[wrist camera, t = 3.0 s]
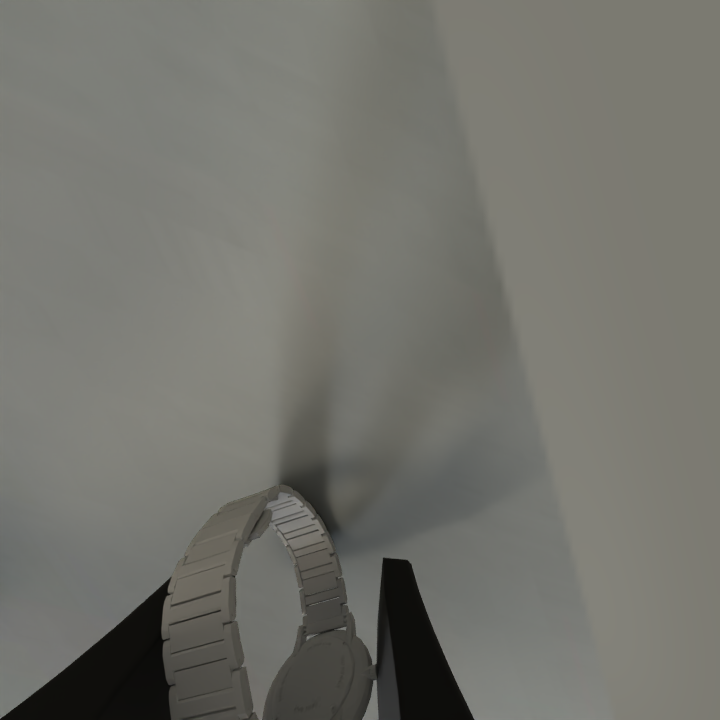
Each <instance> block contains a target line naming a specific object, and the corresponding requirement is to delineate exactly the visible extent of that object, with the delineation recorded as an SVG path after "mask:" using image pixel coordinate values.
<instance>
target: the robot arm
mask: <svg viewBox="0 0 720 720" xmlns="http://www.w3.org/2000/svg"><path fill="white" fill-rule="evenodd" d="M232 577H234V578H235V576H232ZM171 578H172V577H171ZM171 578H170V579H168V580H167V581H166V582H165V583H164V584H163V585H162V586H161V587H160V588H159V589H158V590H156V591H155V592H154V593H153V594H152V595H151V596H150V597H149V598H148V599H146V600H145V601H144V602H143V603H142V604H141V605H140V606H139V607H137V608H136V609H135V610H134V611H133V612H132V613H131V614H130V615H128V616H127V617H126V618H125V619H124V620H123V621H122V622H121V623H119V624H118V625H117V626H116V627H115V628H114V629H112V630H111V631H110V632H109V633H108V634H106V635H105V636H104V637H103V638H102V639H100V640H99V641H98V642H97V643H96V644H94V645H93V646H92V647H91V648H90V649H89V650H87V651H86V652H85V653H84V654H83V655H81V656H80V657H79V658H78V659H77V660H75V661H74V662H73V663H72V664H71V665H69V666H68V667H67V668H66V669H64V670H63V671H62V672H61V673H59V674H58V675H57V676H56V677H54V678H53V679H52V680H51V681H49V682H48V683H47V684H45V685H44V686H43V687H42V688H40V689H39V690H38V691H36V692H35V693H34V694H33V695H31V696H30V697H29V698H27V699H26V700H25V701H23V702H22V703H21V704H19V705H18V706H17V707H16V708H14V709H13V710H12V711H10V712H9V713H8V714H6V715H5V716H4V717H2V718H1V719H0V720H171V714H170V705H169V690H170V687H171V686H173V685H175V684H173V685H169V684H168V682H167V680H166V675H165V668H164V661H163V644H164V642H165V641H166V640H168V639H170V638H168V639H165V640H163V639H162V633H161V628H162V616H163V606H164V602H165V599H166V597H167V596H169V595H171V594H169V593H168V587H169V584H170V581H171ZM230 622H231V621H230ZM377 666H378V679H377V695H378V716H379V720H474V718H473V716H472V714H471V712H470V710H469V708H468V706H467V703H466V701H465V699H464V697H463V695H462V693H461V691H460V689H459V687H458V685H457V682H456V680H455V678H454V676H453V674H452V671H451V669H450V667H449V665H448V663H447V660H446V658H445V656H444V653H443V651H442V648H441V646H440V644H439V641H438V639H437V637H436V634H435V632H434V630H433V627H432V625H431V622H430V620H429V617H428V614H427V612H426V609H425V606H424V603H423V601H422V598H421V595H420V592H419V589H418V586H417V583H416V580H415V576H414V573H413V569H412V565H411V563H410V562H409V561H408V560H401V559H390V558H383V564H382V576H381V588H380V599H379V611H378V628H377Z"/></svg>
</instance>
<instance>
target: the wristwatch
mask: <svg viewBox="0 0 720 720" xmlns="http://www.w3.org/2000/svg"><path fill="white" fill-rule="evenodd" d="M268 526H270V527H271V528H272V529H273V530H276V533H277V534H278V536H279V537H280V539H281V540H282V542H283V543H284V545H287V546H286V548H287V551H288V553H289V555H290V558H291V560H292V562H293V564H297V565H295V567H294V569H295V573H296V577H297V581H298V586H299V588H302V587H303V588H304V589H301V590H300V591H299V592H300V600H301V608H302V614H303V615H305V614H307V616H304V617H303V625H301V626H299V628H298V634H297V640H296V644H295V647H294V651H293V654H292V655H291V656H290V657H289V658H288V659H287V660H286V662H285V663H284V665H283V666H282V667H281V669H280V670H279V672H278V674H277V675H276V677H275V679H274V681H273V683H272V685H271V687H270V690H269V692H268V695H267V698H266V702H265V705H264V711H263V719H262V720H362V718H363V716H364V714H365V712H366V709H367V706H368V703H369V700H370V697H371V692H372V686H373V680H377V679H378V666H377V664H375V665H372V659H371V656H370V654H369V651H368V649H367V648H366V646H365V645H364V643H363V642H362V640H361V639H360V638H358V637H357V636H356V628H355V619H354V617H353V615H352V613H351V612H350V613H349V609H348V606H347V605H343V604H347V595H346V589H345V584H344V579H343V578H339V579H338V577H340V576H342V570H341V566H340V562H339V559H338V555H337V553H334V552H335V551H336V549H335V546H334V543H333V541H332V539H331V536H330V534H329V532H328V531H326V530H327V529H326V527H325V524H324V523H323V521H322V519H321V518H320V516H319V515H318V514H316V511H315V509H314V508H313V507H312V506H311V504H310V503H309V502H308V501H305V499H304V498H303V497H302V496H301V495H300V494H299V493H298V492H297V491H295V490H293V491H292V488H291V487H289V486H286V485H279V486H275V487H272V488H270V489H268V490H265V491H262V492H259V493H256V494H253V495H250V496H247V497H245V498H242V499H239V500H236V501H232V502H229V503H227V504H226V505H224V506H223V507H221V508H220V509H219V511H218V513H216V514H214V515H213V516H212V517H211V518H210V519H209V520H208V521H207V523H206V524H205V525H204V526H203V527H202V528H201V530H199V532H198V533H197V535H196V536H195V538H194V539H193V541H192V542H191V543H190V545H189V546H188V548H187V550H186V552H185V558H182V559H181V560H180V561H179V562H178V564H177V566H176V568H175V571H174V573H173V575H172V578H171V581H170V584H169V587H168V593H169V594H171V595H169V596H167V597H166V599H165V602H164V606H163V616H162V628H161V633H162V639H163V640H165V639H168V638H170V639H168V640H166V641H165V642H164V644H163V661H164V668H165V675H166V680H167V682H168V684H169V685H173V684H175V685H173V686H171V687H170V690H169V705H170V714H171V720H258V718H257V716H256V713H255V712H253V713H252V710H253V703H252V698H251V692H250V687H249V681H248V676H247V670H246V667H241V665H242V664H243V662H244V654H243V650H242V645H241V641H240V635H239V629H238V623H237V621H233V622H230V621H232V620H234V619H235V617H236V579H235V578H234V577H232V576H235V575H237V572H238V567H239V563H240V559H241V555H242V552H243V548H244V547H247V546H249V544H250V542H251V541H252V540H253V539H256V538H260V537H261V535H262V534H263V533H264V531H265V530H266V529H267V527H268ZM334 587H336V588H334ZM331 588H332V589H331ZM327 589H329V590H327ZM324 590H325V591H324ZM320 591H321V592H320ZM316 592H318V593H316ZM313 593H314V594H313ZM309 594H311V595H309ZM337 597H339V598H337ZM333 598H337V599H333ZM330 599H333V600H330ZM326 600H329V601H326ZM323 601H326V602H323ZM319 602H322V603H319ZM315 603H318V604H315ZM312 604H315V605H312ZM309 605H311V606H309ZM346 626H347V628H346V631H344V630H334V629H338V628H342V627H346ZM319 633H320V634H319ZM315 634H318V635H316V636H314V637H312V638H311V639H309V640H308V641H306V637H307V636H311V635H315ZM240 667H241V668H240Z"/></svg>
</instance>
